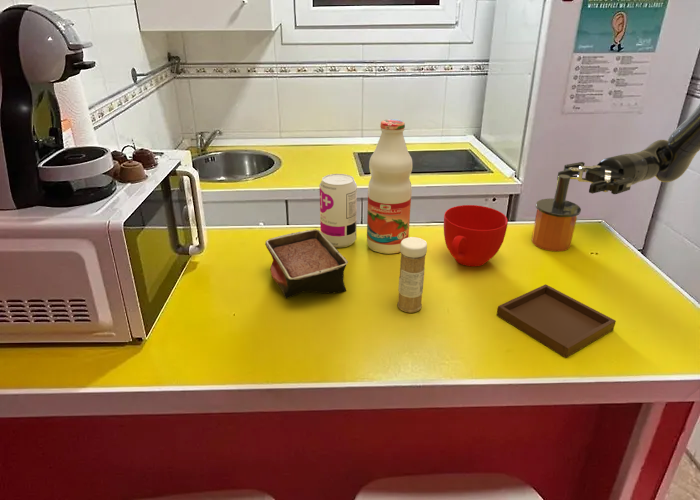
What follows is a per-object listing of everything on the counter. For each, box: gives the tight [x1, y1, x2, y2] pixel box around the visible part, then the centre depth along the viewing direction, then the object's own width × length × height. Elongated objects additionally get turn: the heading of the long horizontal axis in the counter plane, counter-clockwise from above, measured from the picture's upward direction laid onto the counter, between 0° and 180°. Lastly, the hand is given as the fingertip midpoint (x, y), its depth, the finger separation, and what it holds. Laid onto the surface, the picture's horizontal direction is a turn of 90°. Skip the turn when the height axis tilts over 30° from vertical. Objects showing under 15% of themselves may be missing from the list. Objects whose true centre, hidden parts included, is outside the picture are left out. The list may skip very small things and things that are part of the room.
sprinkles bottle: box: [397, 236, 428, 314], centre depth 93 cm, size 5×5×13 cm
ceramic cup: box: [443, 204, 509, 268], centre depth 108 cm, size 13×17×10 cm
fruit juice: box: [366, 118, 413, 255], centre depth 111 cm, size 9×9×28 cm
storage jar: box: [531, 208, 579, 252], centre depth 117 cm, size 8×8×8 cm
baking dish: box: [264, 228, 349, 299], centre depth 102 cm, size 14×18×10 cm
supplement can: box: [318, 173, 358, 249], centre depth 116 cm, size 8×8×15 cm
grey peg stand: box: [535, 175, 582, 217], centre depth 114 cm, size 9×9×8 cm
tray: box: [496, 284, 617, 359], centre depth 91 cm, size 14×13×2 cm
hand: (574, 182), depth 114 cm, fingers open, 8 cm apart
